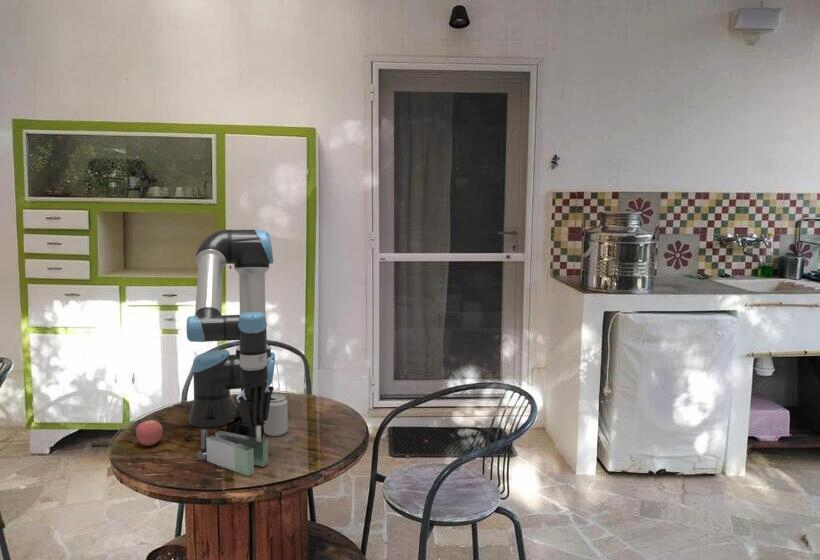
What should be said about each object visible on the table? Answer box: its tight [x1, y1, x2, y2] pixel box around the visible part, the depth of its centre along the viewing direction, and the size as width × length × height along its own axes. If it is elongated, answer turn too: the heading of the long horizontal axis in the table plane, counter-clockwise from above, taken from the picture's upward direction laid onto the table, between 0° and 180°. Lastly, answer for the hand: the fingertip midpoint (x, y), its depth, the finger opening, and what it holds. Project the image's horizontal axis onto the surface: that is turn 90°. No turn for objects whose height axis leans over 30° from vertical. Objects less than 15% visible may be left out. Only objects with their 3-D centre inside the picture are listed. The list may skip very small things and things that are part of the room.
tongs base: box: [196, 428, 255, 477], centre depth 172 cm, size 21×4×8 cm, turn 56°
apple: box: [135, 418, 164, 447], centre depth 187 cm, size 7×7×8 cm
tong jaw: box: [214, 430, 269, 468], centre depth 176 cm, size 17×2×7 cm, turn 66°
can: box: [263, 394, 289, 437], centre depth 197 cm, size 8×8×12 cm
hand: (256, 447), depth 177 cm, fingers closed
